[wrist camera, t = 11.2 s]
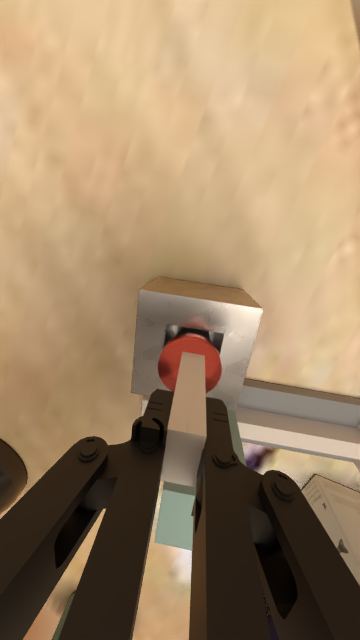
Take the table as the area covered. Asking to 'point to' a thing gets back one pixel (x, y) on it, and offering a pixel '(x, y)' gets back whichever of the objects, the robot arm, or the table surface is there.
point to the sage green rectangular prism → (186, 503)
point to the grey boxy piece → (198, 313)
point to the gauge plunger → (190, 343)
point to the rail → (299, 407)
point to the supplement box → (338, 517)
